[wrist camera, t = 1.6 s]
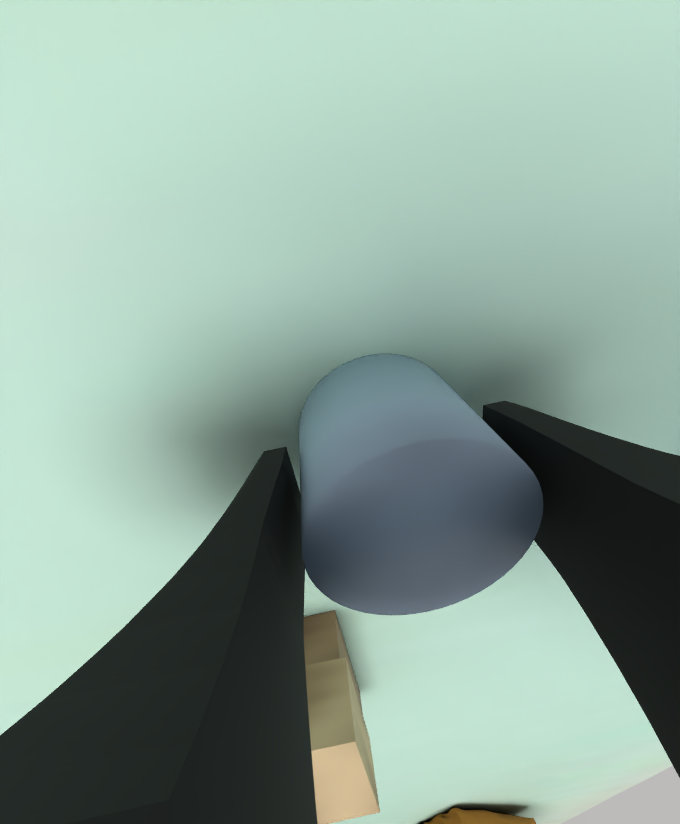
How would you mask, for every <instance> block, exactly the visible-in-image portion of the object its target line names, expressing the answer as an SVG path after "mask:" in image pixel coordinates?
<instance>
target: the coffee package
mask: <svg viewBox="0 0 680 824" xmlns="http://www.w3.org/2000/svg"><path fill="white" fill-rule="evenodd" d="M423 824H536V822H535V820H534V819H533V818H525V817H519V816H514V815H508V814H502V813H497V812H490V811H486V810H462V809H459V808H453V809H450V811H449V813H445V814H438V815H437V816H435V817H434V818H433V819H432V820H431V821H430V822H427V823H423Z"/></svg>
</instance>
